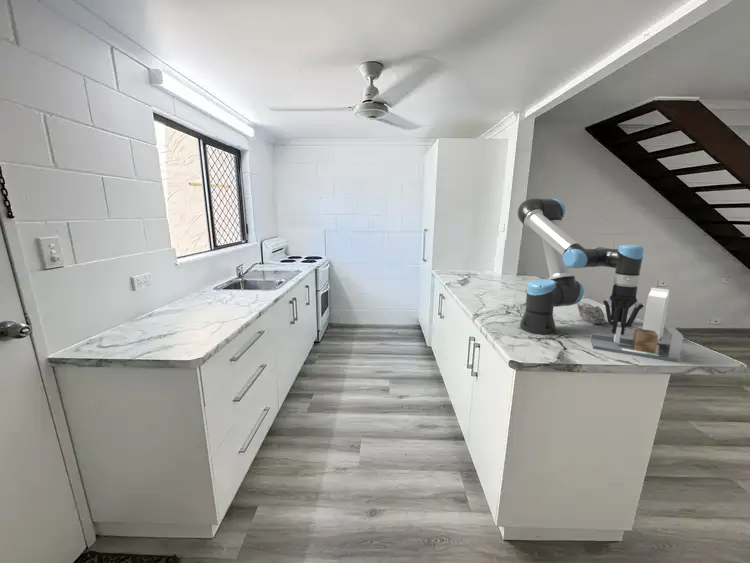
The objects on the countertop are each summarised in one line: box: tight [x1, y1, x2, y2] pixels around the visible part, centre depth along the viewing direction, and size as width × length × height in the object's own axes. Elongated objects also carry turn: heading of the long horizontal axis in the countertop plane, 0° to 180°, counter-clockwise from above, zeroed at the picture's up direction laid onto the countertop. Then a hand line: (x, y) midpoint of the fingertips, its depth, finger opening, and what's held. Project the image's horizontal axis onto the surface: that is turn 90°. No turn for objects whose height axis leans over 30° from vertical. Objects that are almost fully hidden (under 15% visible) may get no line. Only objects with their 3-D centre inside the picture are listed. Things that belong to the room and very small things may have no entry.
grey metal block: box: [660, 325, 684, 360], centre depth 120 cm, size 3×10×9 cm, turn 151°
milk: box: [642, 287, 670, 341], centre depth 138 cm, size 6×6×22 cm
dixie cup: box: [610, 301, 623, 325], centre depth 159 cm, size 8×8×11 cm
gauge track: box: [590, 333, 680, 363], centre depth 126 cm, size 26×10×3 cm, turn 61°
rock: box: [576, 301, 607, 325], centre depth 162 cm, size 16×8×10 cm, turn 175°
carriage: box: [632, 327, 659, 354], centre depth 123 cm, size 7×7×7 cm
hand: (616, 341), depth 128 cm, fingers closed
